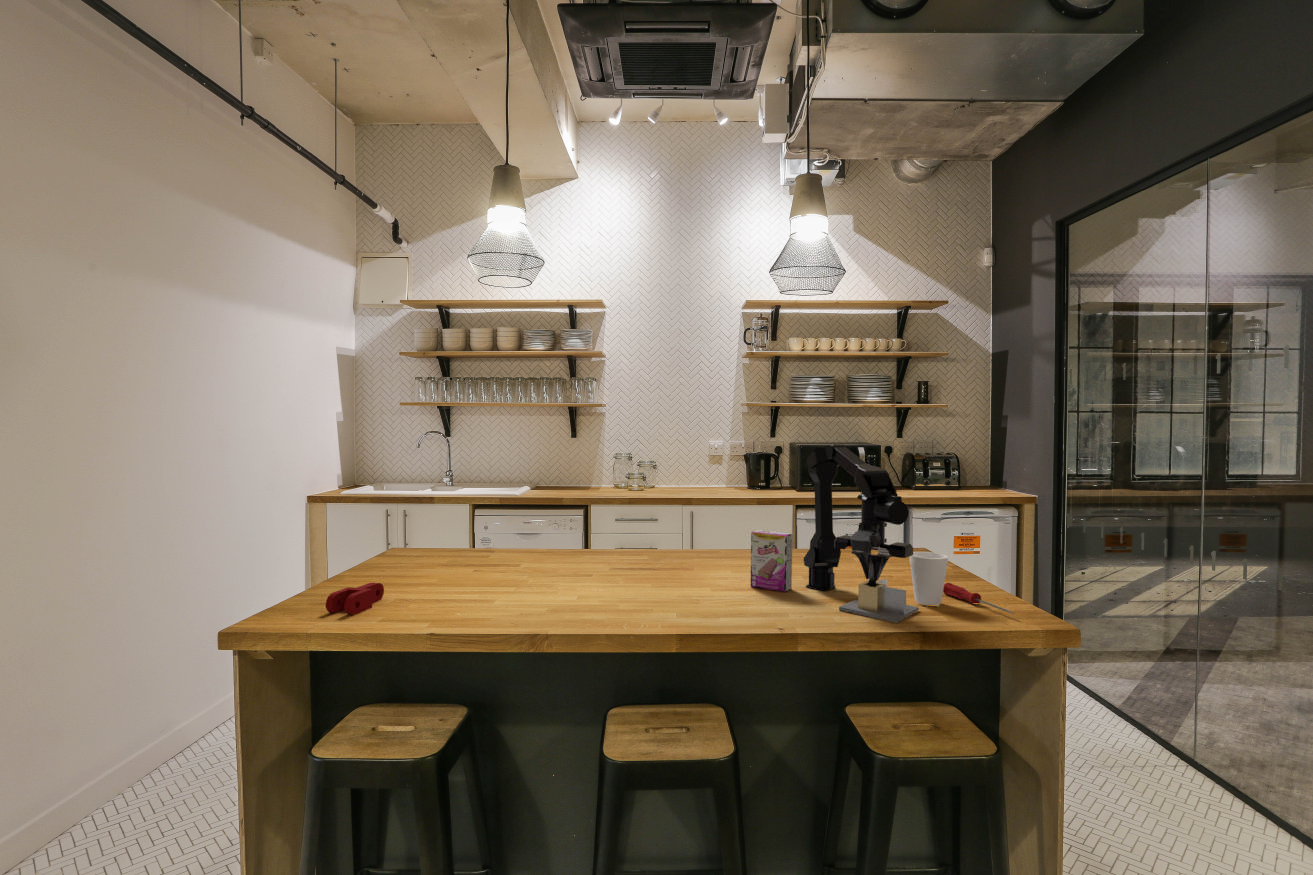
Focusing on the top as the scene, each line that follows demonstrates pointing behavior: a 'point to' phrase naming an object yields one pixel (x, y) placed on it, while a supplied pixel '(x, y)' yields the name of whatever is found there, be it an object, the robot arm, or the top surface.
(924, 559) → the foam cup
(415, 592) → the top surface
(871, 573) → the hinge pin
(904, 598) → the hinge
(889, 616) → the base plate
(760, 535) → the candy bar box
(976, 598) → the screwdriver
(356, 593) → the mechanical linkage
